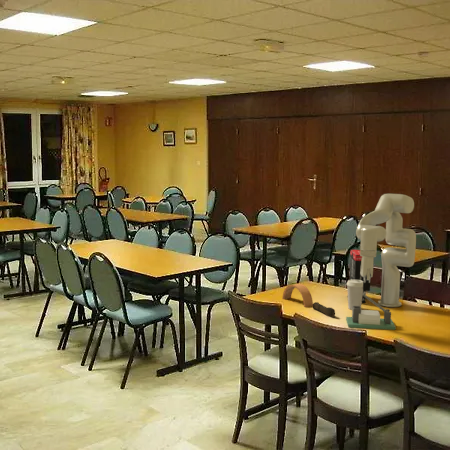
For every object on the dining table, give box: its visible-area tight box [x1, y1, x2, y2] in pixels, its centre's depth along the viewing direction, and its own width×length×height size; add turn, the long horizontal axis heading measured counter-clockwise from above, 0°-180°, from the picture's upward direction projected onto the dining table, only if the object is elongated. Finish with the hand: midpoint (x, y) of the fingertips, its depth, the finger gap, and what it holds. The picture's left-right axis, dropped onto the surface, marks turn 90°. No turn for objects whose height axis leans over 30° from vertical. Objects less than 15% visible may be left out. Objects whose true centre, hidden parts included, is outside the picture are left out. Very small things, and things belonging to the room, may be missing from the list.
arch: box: [282, 283, 314, 308], centre depth 336 cm, size 6×20×10 cm, turn 31°
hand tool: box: [312, 301, 336, 319], centre depth 315 cm, size 19×4×5 cm, turn 20°
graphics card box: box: [349, 249, 367, 304], centre depth 343 cm, size 17×7×27 cm, turn 179°
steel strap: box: [362, 291, 388, 313], centre depth 295 cm, size 3×16×2 cm
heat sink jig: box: [345, 306, 397, 331], centre depth 296 cm, size 13×22×8 cm, turn 83°
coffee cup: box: [346, 279, 363, 311], centre depth 324 cm, size 10×10×15 cm
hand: (366, 290), depth 294 cm, fingers closed
